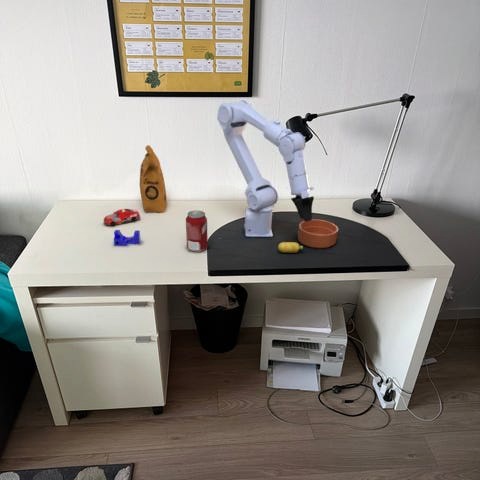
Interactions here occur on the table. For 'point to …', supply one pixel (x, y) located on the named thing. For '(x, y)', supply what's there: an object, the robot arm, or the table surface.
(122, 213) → the race car
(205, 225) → the soda can
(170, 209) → the table surface
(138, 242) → the cable holder
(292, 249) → the yellow squeeze bottle
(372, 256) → the table surface
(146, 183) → the coffee package
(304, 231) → the basin
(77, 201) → the table surface
